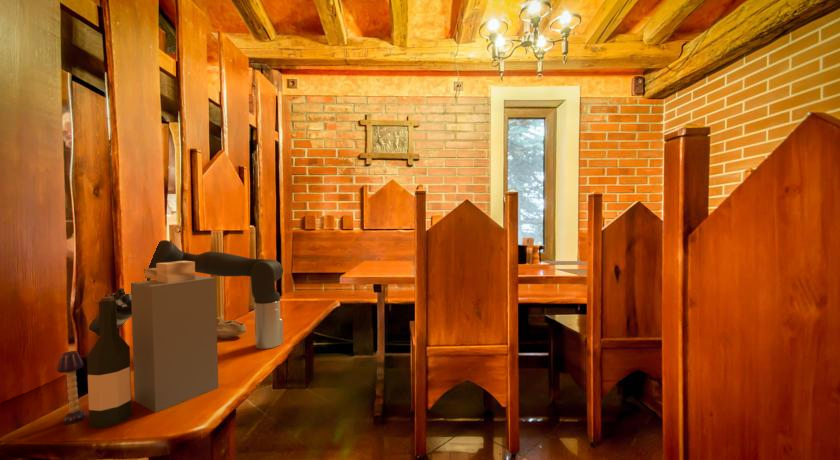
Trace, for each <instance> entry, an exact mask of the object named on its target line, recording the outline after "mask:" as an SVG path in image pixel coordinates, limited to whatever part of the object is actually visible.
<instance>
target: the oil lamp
mask: <svg viewBox="0 0 840 460" xmlns="http://www.w3.org/2000/svg"><path fill="white" fill-rule="evenodd" d="M247 330H248V329H247V326H246V324H245V323H242V322H239V321H237V320H229V319H227V320H224V319H222V317H220V316H219V317H217V338H219V339H232V338H235V337H237V336H240V335H243V334H245V332H246V331H247Z"/></svg>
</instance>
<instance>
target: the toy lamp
mask: <svg viewBox="0 0 840 460" xmlns="http://www.w3.org/2000/svg"><path fill="white" fill-rule="evenodd" d="M83 367H84V362H83V360H82V358H81V355H80V354H79V352H78V350H71V351H67V352H64V353H61V354H60V357H59V361H58V365H57V368H56V371H57V373H59V374H61V373H63V374H64V373H65V375H66V382H67V383H66V387H67V388H68V389H67V394H68V396H67V400H68V406H69V409H68V410H69V412H68V413H67V414H66V415H65V416H64V417H63V420H62V424H63V425H70V424H74V423H78V422H80V421H83V420H85V419H86V417H87V413H86V412H85V411H84V410H82V409H80V406H79V399H78V398H79V395H78V390H79V389H78V387H77V386H78V382H77V378H78V377H77V375H76V374H77V370H80V369H82V368H83Z"/></svg>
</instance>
